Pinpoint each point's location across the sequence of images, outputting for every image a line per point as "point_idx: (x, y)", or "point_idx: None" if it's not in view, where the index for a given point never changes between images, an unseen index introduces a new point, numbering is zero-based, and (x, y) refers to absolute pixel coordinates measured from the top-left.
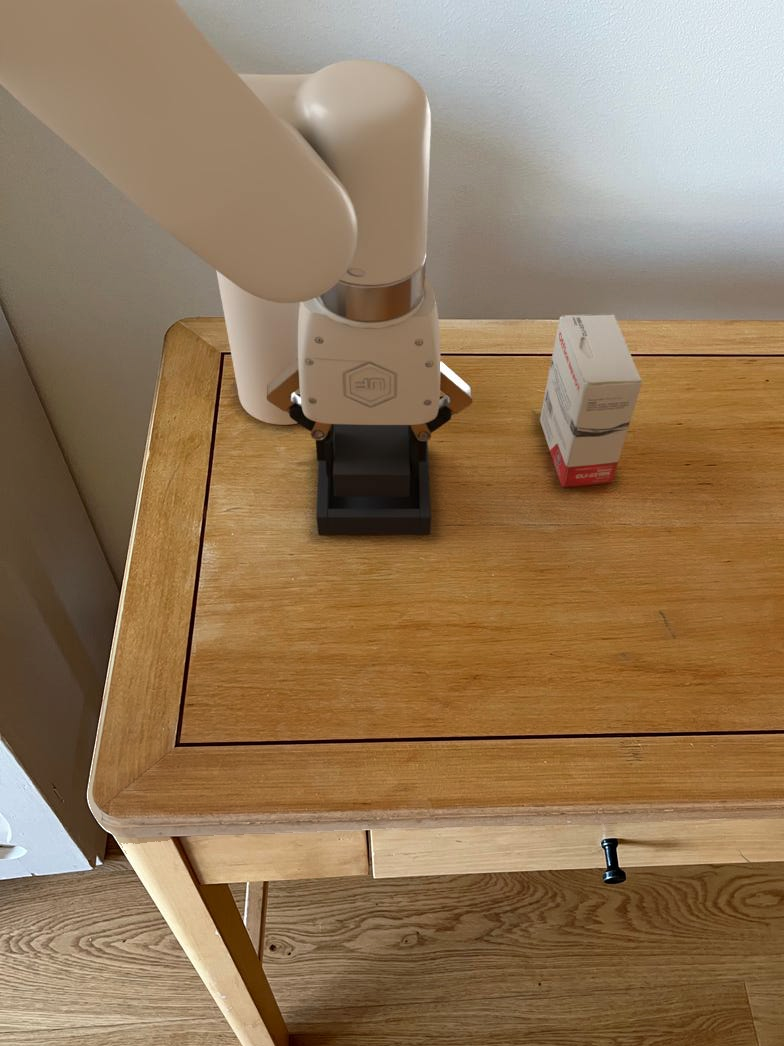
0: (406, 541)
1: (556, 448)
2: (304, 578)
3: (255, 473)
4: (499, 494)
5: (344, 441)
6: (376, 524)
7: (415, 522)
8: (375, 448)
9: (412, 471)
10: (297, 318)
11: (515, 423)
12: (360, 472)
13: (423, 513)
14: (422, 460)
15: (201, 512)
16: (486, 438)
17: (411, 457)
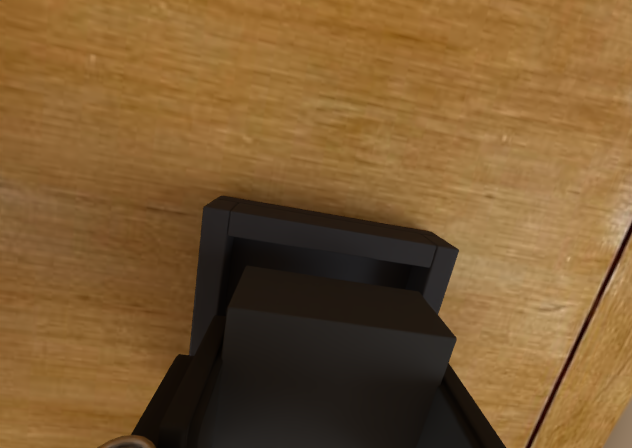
0: (271, 188)
1: None
2: (484, 135)
3: (493, 372)
4: (63, 272)
5: (393, 439)
6: (329, 221)
7: (244, 209)
8: (314, 410)
9: (222, 327)
10: None
11: (20, 425)
12: (378, 335)
13: (220, 220)
14: (185, 358)
15: (598, 309)
16: (81, 399)
17: (209, 369)
